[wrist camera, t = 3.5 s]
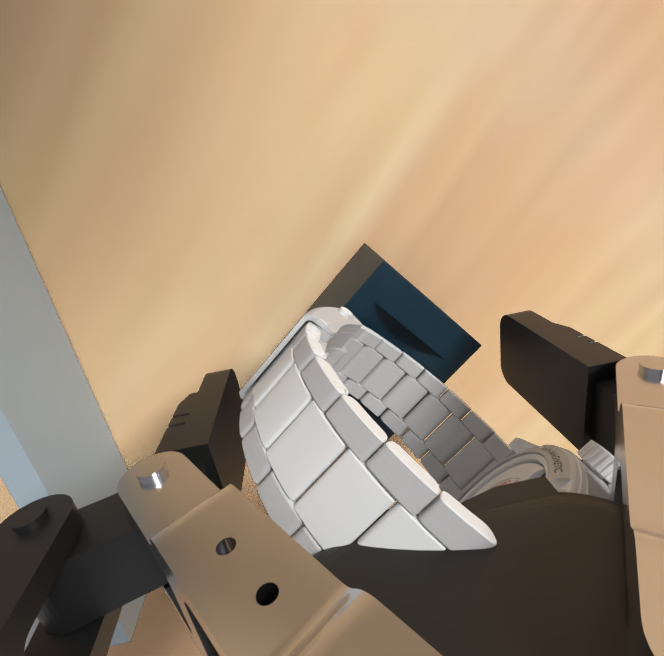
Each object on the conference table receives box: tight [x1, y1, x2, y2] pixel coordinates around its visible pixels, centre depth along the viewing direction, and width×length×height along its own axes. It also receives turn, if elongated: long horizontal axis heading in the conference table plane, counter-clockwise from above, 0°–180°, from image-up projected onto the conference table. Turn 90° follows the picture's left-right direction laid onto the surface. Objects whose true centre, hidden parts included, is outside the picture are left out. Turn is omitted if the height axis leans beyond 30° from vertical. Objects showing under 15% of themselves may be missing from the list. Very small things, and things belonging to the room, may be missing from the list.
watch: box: [239, 243, 614, 556], centre depth 11 cm, size 6×8×11 cm
